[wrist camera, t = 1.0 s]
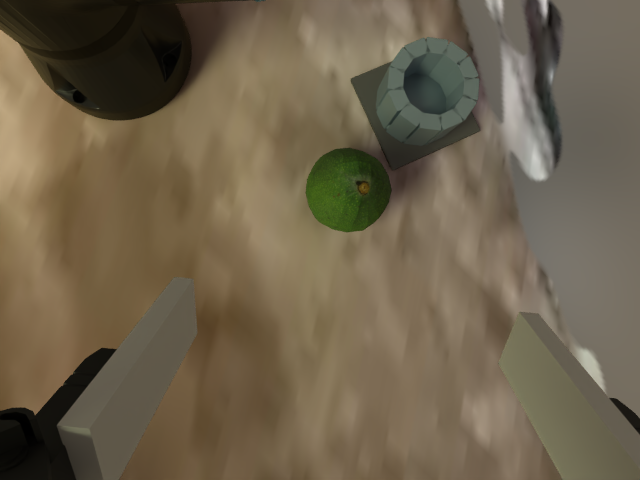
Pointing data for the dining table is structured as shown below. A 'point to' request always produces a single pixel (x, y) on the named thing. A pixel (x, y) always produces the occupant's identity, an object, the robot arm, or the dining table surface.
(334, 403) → the dining table surface
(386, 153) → the placemat
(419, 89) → the bowl
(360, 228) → the avocado
